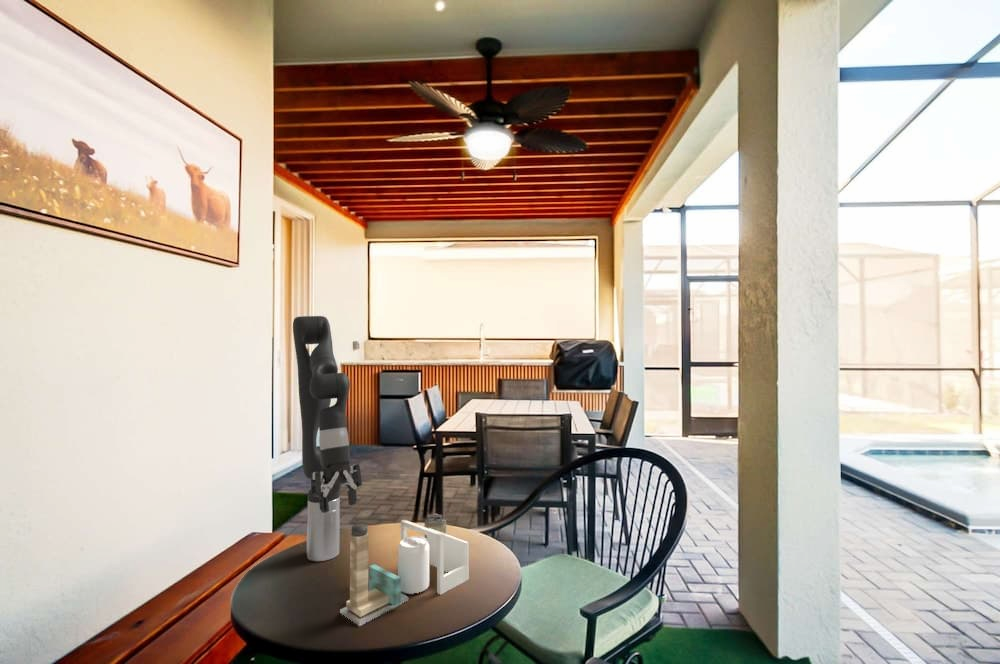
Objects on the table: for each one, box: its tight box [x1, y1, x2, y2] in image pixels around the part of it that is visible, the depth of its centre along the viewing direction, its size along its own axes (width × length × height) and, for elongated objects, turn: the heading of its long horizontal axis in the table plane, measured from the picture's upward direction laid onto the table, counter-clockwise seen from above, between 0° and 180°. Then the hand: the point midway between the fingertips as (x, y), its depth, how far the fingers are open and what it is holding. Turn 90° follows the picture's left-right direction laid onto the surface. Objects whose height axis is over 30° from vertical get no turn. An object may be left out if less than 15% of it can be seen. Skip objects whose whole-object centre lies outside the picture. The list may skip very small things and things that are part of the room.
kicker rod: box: [345, 523, 402, 617], centre depth 113 cm, size 11×10×19 cm
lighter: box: [423, 513, 447, 539], centre depth 148 cm, size 7×4×10 cm, turn 91°
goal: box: [400, 519, 470, 596], centre depth 128 cm, size 16×10×15 cm, turn 50°
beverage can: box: [397, 536, 430, 595], centre depth 123 cm, size 8×8×12 cm
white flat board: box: [339, 592, 409, 627], centre depth 113 cm, size 8×14×1 cm, turn 140°
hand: (339, 508), depth 123 cm, fingers open, 8 cm apart
